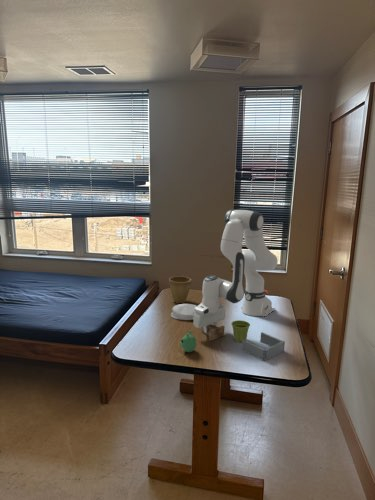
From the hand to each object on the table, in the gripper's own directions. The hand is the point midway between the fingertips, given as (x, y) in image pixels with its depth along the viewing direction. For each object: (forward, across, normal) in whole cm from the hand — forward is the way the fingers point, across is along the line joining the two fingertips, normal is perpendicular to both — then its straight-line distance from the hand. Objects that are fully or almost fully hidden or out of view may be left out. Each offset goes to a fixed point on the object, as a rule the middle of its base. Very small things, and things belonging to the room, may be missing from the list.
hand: (209, 331), depth 181 cm
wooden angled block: (+2, 0, +2) cm, 2 cm away
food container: (+2, -8, -29) cm, 30 cm away
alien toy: (+2, +21, +8) cm, 23 cm away
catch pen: (+2, -8, +29) cm, 30 cm away
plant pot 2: (+2, -8, +15) cm, 17 cm away
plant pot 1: (+2, -19, -50) cm, 53 cm away
